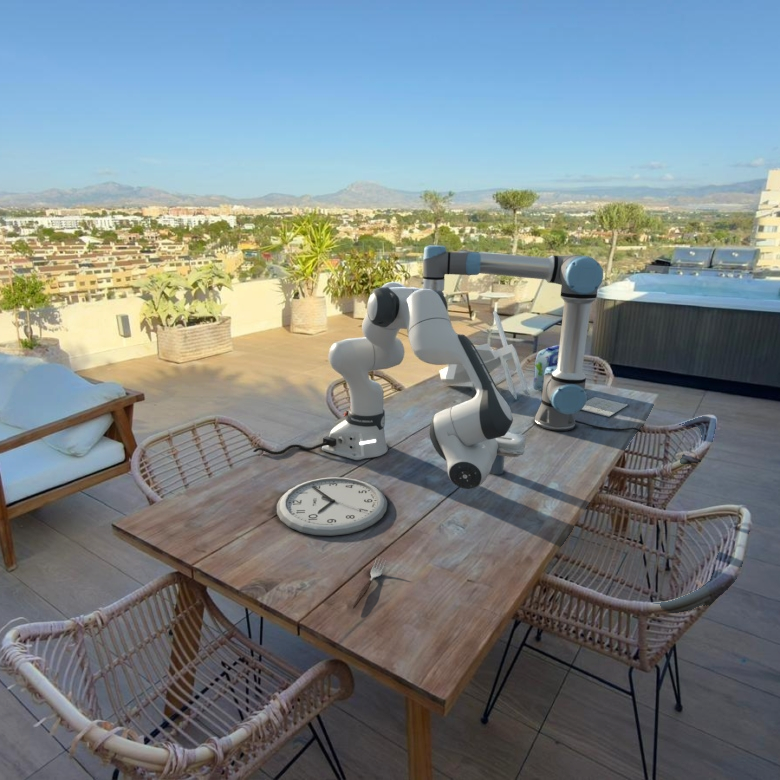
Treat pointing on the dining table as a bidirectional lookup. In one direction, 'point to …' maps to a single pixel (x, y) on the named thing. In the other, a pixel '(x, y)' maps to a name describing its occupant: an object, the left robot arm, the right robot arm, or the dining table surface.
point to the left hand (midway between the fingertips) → (488, 429)
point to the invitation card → (603, 406)
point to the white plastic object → (489, 363)
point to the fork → (374, 573)
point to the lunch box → (544, 364)
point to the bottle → (498, 465)
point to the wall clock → (331, 506)
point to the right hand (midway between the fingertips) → (430, 350)
